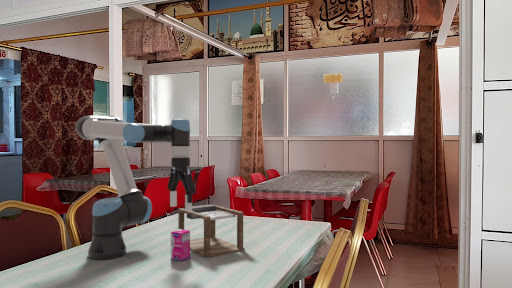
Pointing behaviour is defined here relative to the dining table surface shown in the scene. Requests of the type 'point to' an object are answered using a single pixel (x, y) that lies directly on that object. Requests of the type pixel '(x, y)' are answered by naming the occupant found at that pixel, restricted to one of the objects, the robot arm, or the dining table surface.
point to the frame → (213, 234)
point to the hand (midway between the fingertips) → (180, 208)
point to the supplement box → (180, 245)
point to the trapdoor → (210, 212)
